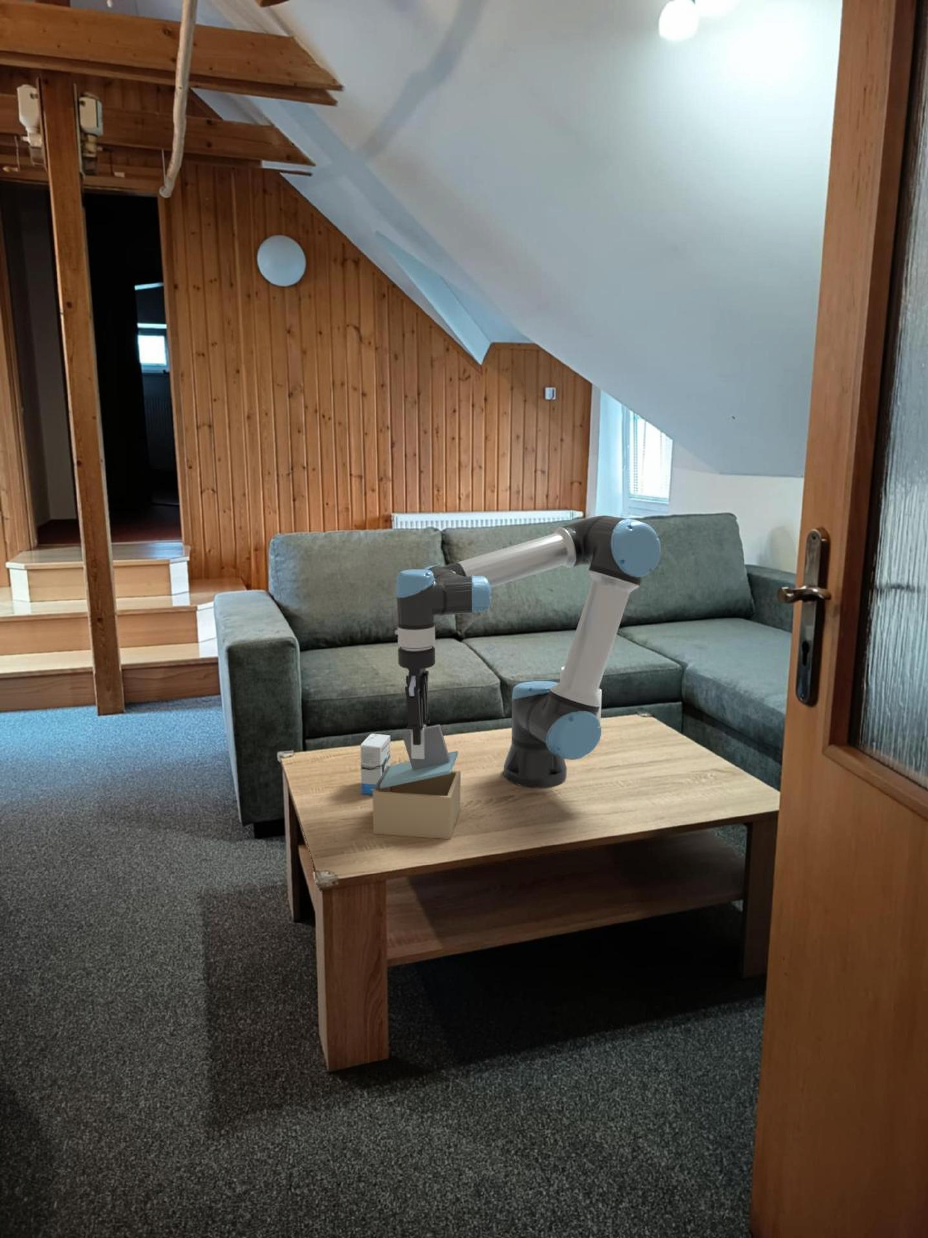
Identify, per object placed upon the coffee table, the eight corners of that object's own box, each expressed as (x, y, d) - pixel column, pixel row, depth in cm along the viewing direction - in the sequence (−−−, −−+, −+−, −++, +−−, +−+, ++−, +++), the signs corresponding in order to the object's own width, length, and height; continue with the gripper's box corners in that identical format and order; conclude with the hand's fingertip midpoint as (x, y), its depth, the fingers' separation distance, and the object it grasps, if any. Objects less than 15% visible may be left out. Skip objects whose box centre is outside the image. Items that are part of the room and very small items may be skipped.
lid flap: (458, 754, 182) (447, 716, 181) (450, 773, 172) (438, 733, 170) (387, 769, 185) (375, 732, 184) (375, 789, 175) (362, 750, 173)
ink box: (381, 796, 194) (380, 747, 191) (360, 794, 195) (359, 745, 192) (391, 781, 202) (391, 734, 199) (371, 779, 203) (370, 732, 200)
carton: (460, 810, 187) (460, 771, 185) (450, 839, 173) (450, 797, 171) (388, 805, 189) (388, 767, 187) (373, 833, 175) (372, 792, 173)
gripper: (405, 637, 180) (408, 743, 185) (390, 655, 166) (394, 768, 171) (440, 638, 179) (442, 744, 184) (428, 655, 165) (430, 770, 170)
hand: (419, 756), depth 178 cm, fingers closed on lid flap, 1 cm apart
